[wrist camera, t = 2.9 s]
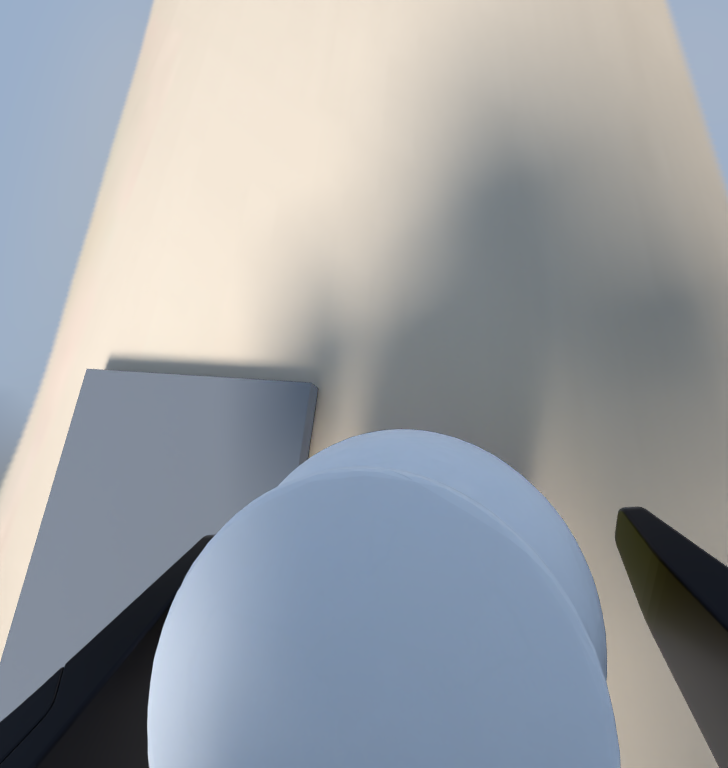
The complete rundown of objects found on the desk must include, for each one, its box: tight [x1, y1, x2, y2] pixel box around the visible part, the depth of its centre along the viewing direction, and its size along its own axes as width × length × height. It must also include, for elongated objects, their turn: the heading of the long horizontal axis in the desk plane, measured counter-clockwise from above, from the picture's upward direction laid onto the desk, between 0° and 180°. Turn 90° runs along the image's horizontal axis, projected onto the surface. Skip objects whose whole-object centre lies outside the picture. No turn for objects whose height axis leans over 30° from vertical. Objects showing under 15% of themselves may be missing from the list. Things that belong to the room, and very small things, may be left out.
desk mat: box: [0, 369, 318, 722], centre depth 18 cm, size 16×12×1 cm
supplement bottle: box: [147, 429, 620, 768], centre depth 10 cm, size 7×7×13 cm
